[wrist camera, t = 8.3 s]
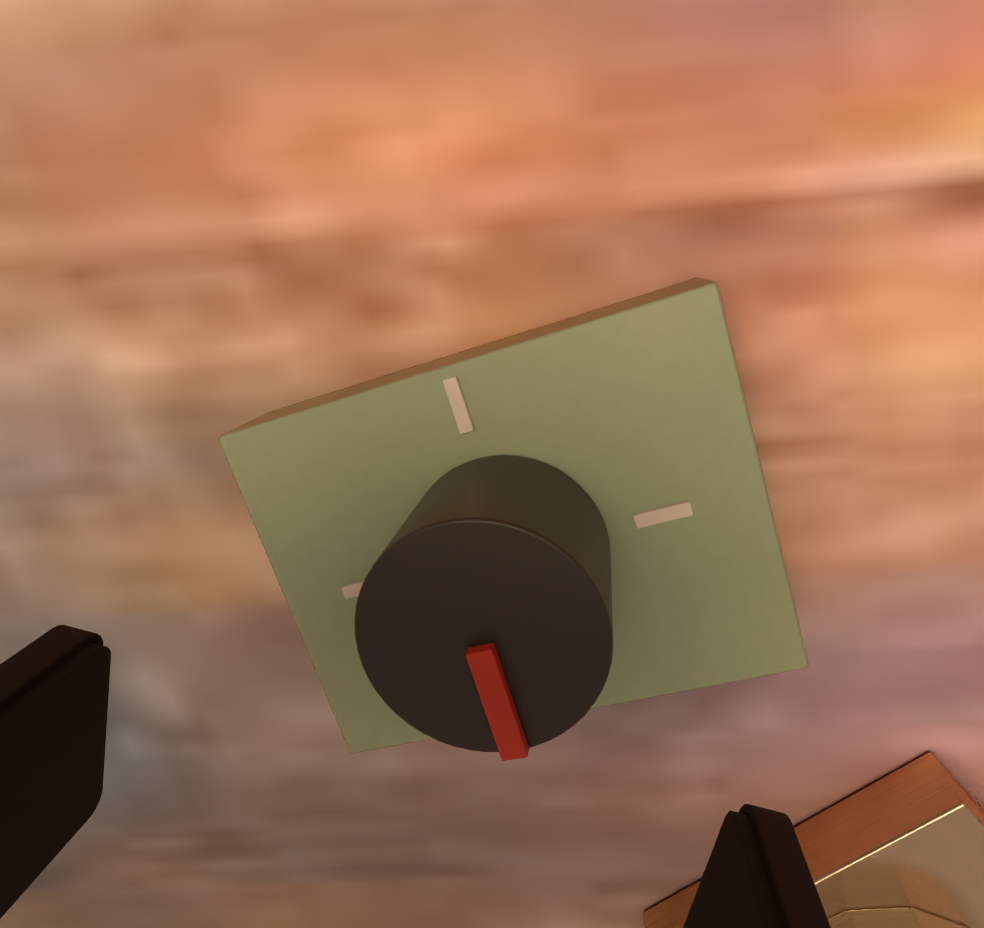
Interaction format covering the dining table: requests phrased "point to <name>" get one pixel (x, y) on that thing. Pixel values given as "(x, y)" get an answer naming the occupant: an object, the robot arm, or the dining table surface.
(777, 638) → the dial panel
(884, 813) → the button box
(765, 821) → the robot arm
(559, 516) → the dial knob
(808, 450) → the dining table surface
